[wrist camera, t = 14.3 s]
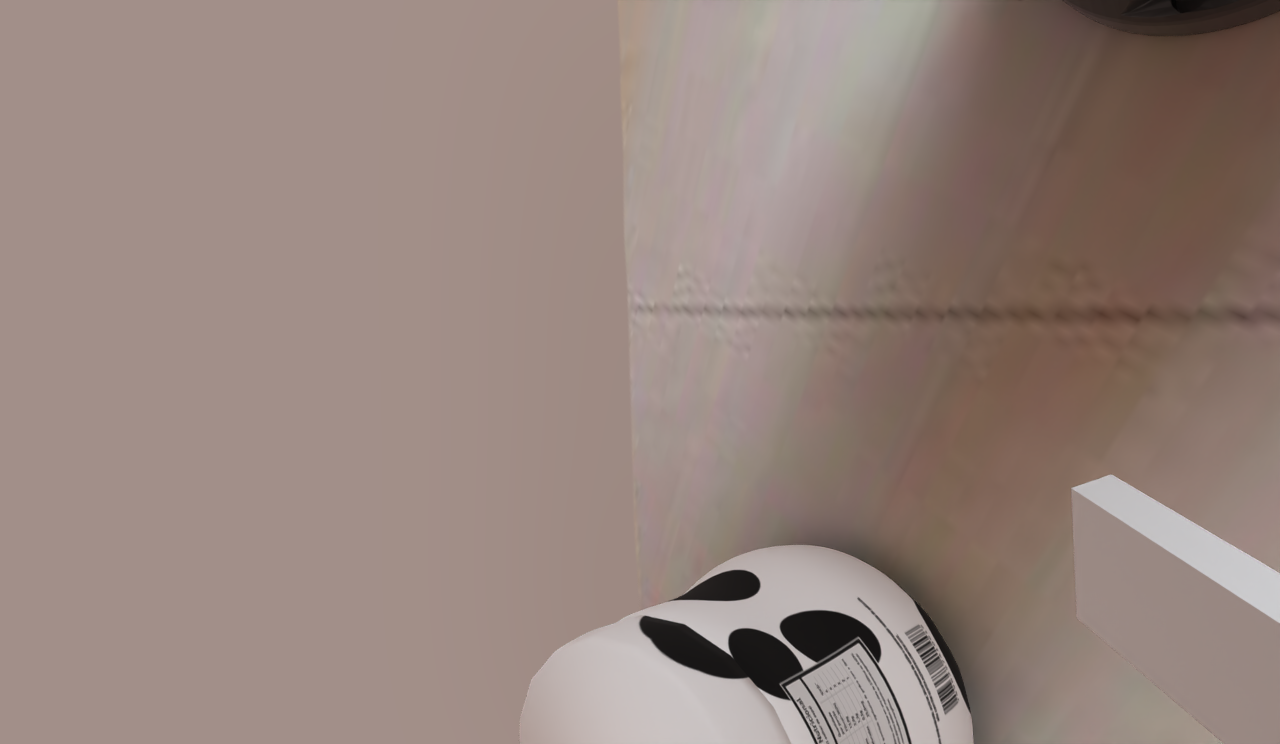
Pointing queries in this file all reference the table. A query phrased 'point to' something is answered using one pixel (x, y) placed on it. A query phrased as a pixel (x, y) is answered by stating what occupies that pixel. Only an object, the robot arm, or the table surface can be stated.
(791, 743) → the milk container
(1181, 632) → the robot arm
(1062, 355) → the table surface
